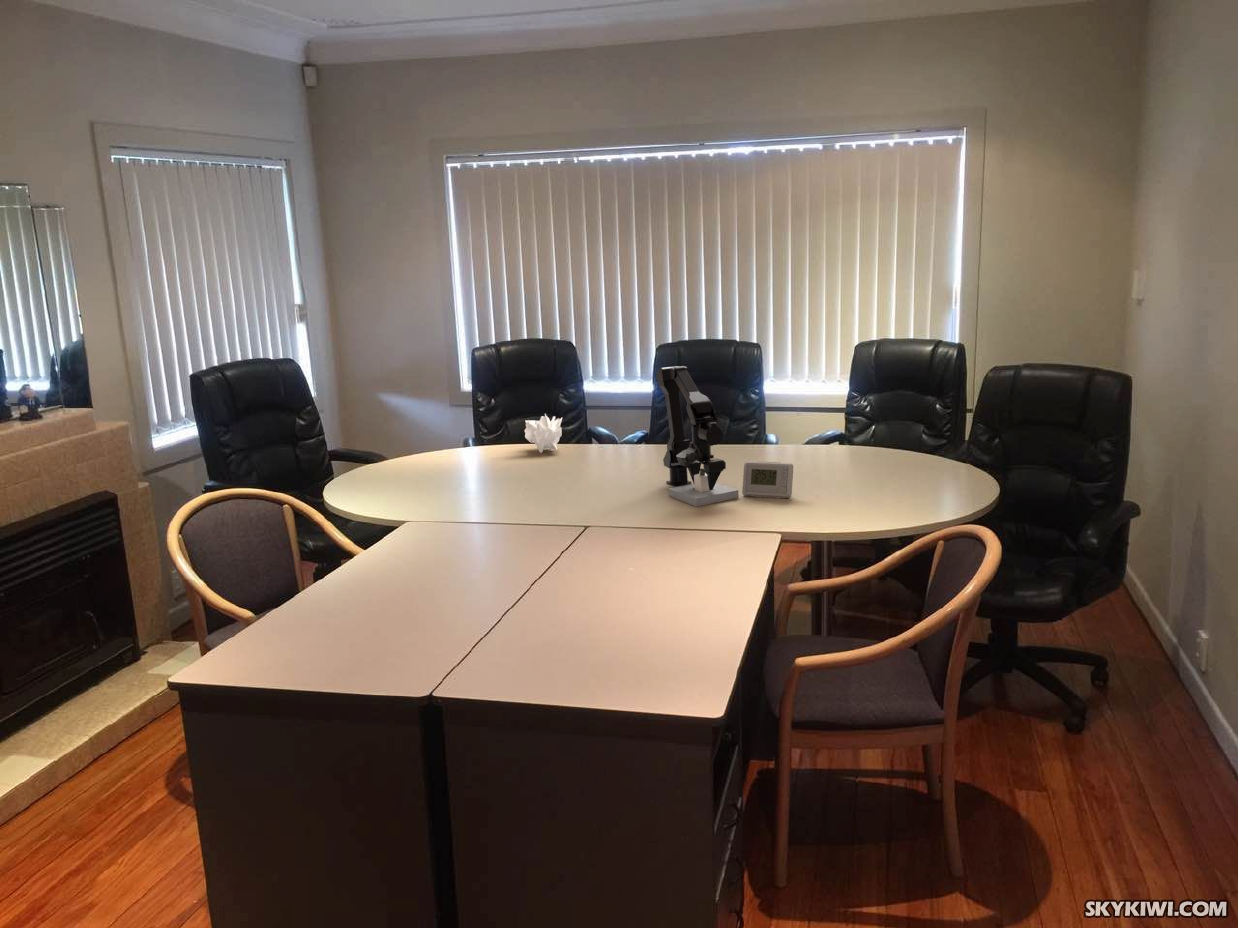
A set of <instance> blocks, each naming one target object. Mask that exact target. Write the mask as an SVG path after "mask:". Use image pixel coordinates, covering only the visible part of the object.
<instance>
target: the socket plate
mask: <svg viewBox="0 0 1238 928" xmlns="http://www.w3.org/2000/svg"><path fill="white" fill-rule="evenodd" d="M668 496H669V497H671V498H673V499H676V500H678V501H681V502H683V503H686V504H688V505H691V506H693V507H700V506H705V505H710V504H715V503H719V502H724V501H728V500H734V499H738V498H739V489H737V488H734V487H730V486H728V485H725V484H722V483H719V482H716V484H715V486H714V488H713V490H710V491H705V492H698V491H696V490H695V487H694V484H693V483H690V484H685V485H680V486H674V487H671V488H668Z"/></svg>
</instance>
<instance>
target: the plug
mask: <svg viewBox="0 0 1238 928" xmlns="http://www.w3.org/2000/svg"><path fill="white" fill-rule="evenodd" d="M703 470H705V469H704V467H703V468H701V467H700V473H699V474H696V475H694V487H695V490H696V491H698V492H705V491H710V490H709V485H708V478H707V474H706V473H705V472H704V471H703Z"/></svg>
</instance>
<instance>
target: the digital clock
mask: <svg viewBox="0 0 1238 928" xmlns="http://www.w3.org/2000/svg"><path fill="white" fill-rule="evenodd" d="M743 465H744V466H743V475H742V489H741V494H742V495H743V496H746V497H747V496H748V497H753V498H766V499H767V498H768V499H769V498H770V499H781V498H782V499H783V498H785V499H790V498H791V497H792V493H793V482H794V481H793V480H794V464H793V463H790V462H780V461H779V462H777V461H744V464H743Z"/></svg>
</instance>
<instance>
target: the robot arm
mask: <svg viewBox="0 0 1238 928" xmlns="http://www.w3.org/2000/svg"><path fill="white" fill-rule="evenodd" d="M655 376H656V381H657V382H658V387H659V389H660V390H661V392H663V394H664V397H665V405H666V411H667V420H668V428H669V429H668V430H669V435H670V437H669V440H668V441H667V445H666V452H665V454H664V457H663V466H664V467H666V468H667V469H669V480H666V482H665V483H666V484H668V485H672V486H674V487H680V486H685V485H690V484H694V475H696V474H700V469H701V466H703V468H704V469H705V470H703V471H704V472H705V473H706V474H707V478H708V485H709V490H713V488H714V486H715V484H716V483H717V481H718V479H719V477H720V476H721V473H722V472H723V471H725V470H726V469H727V462H726V461H725V460H723V459H720V458H715V454H713V453H712V449H711V448H712V446H717V445H719V444H720V443H722V441H723V439H724V433H723V431H722V428H720V427H718V423H717V422H719V420H718V417H719V416H718V414H717V412H716V409H715V407H714V404H713V402H712V401H711V399H709V397H708V396H706V394H705V395H704V393H701V392H700V391H699V389H698V387H697V386H696V384H695V382H694V380H693V379H692V377H691V375H690V373H689V369H688V367H687V366H685V365H681V366H678V365H677V366H676V365H674V366H666V367H659V369H658V371H657V372H656V375H655ZM680 392H681V394H682V395H683V397H684V399H685V401H686V403H687V404H686V408H685V409H686V412H687V415H688V417H689V419H690V420H689V423H690V425H691V439H692V441H691V439H688V438H687V436H686V435H685V427H684V420H683V411H682V403H681V397H680V395H681V394H680ZM688 472H689V475H690V478H691V481H690V480H688Z"/></svg>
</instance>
